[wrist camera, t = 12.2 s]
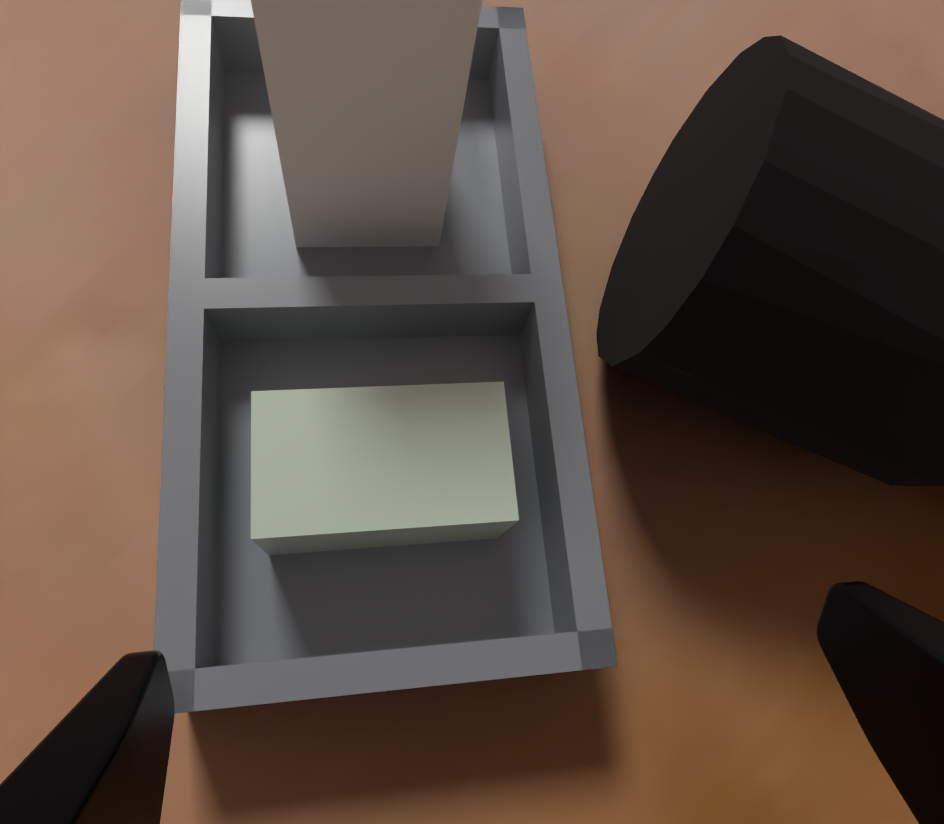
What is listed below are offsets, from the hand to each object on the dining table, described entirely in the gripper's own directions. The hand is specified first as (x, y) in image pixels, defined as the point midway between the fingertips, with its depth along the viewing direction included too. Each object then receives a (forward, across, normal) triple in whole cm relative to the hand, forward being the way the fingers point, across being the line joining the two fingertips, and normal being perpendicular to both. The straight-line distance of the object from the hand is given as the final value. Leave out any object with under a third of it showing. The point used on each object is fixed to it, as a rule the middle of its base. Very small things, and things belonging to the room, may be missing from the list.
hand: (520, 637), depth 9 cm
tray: (+17, +1, +2) cm, 17 cm away
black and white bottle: (+13, -23, +6) cm, 27 cm away
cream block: (+20, +1, -2) cm, 20 cm away
